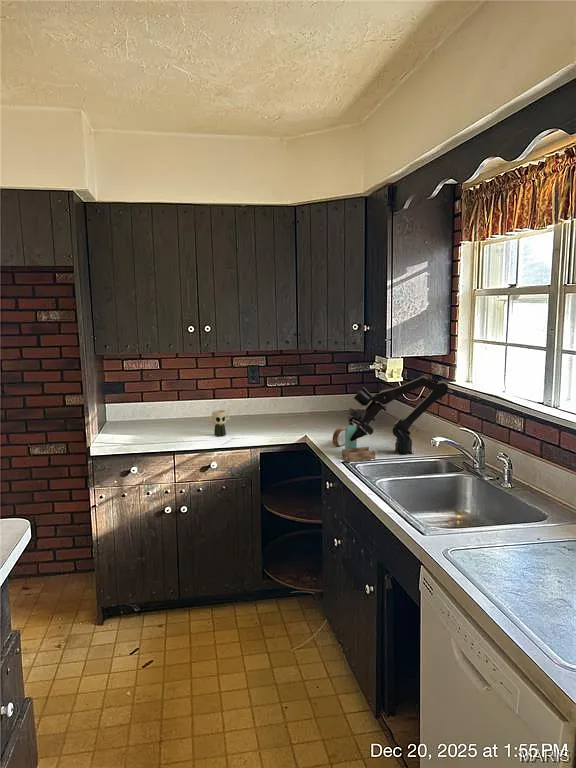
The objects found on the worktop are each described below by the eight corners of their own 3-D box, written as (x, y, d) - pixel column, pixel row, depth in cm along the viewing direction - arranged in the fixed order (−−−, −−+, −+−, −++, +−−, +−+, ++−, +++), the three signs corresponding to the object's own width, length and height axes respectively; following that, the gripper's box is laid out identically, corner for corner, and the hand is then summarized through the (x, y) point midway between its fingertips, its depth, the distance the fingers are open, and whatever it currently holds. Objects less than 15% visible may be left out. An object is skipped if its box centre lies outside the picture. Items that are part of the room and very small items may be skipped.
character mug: (211, 438, 296) (210, 413, 295) (208, 435, 303) (207, 411, 301) (232, 435, 301) (231, 411, 299) (228, 432, 307) (227, 409, 305)
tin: (349, 440, 283) (349, 424, 281) (354, 441, 281) (354, 424, 279) (332, 447, 271) (331, 430, 270) (337, 448, 269) (337, 430, 268)
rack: (367, 455, 255) (367, 446, 255) (374, 460, 247) (374, 451, 247) (342, 458, 252) (342, 449, 252) (348, 463, 244) (348, 454, 244)
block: (353, 452, 261) (353, 424, 259) (356, 454, 257) (356, 426, 255) (345, 453, 260) (344, 425, 258) (348, 455, 256) (347, 427, 254)
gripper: (350, 398, 265) (328, 423, 264) (366, 405, 247) (342, 432, 246) (366, 413, 268) (345, 438, 267) (383, 421, 250) (360, 448, 249)
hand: (347, 439), depth 257 cm, fingers open, 6 cm apart
